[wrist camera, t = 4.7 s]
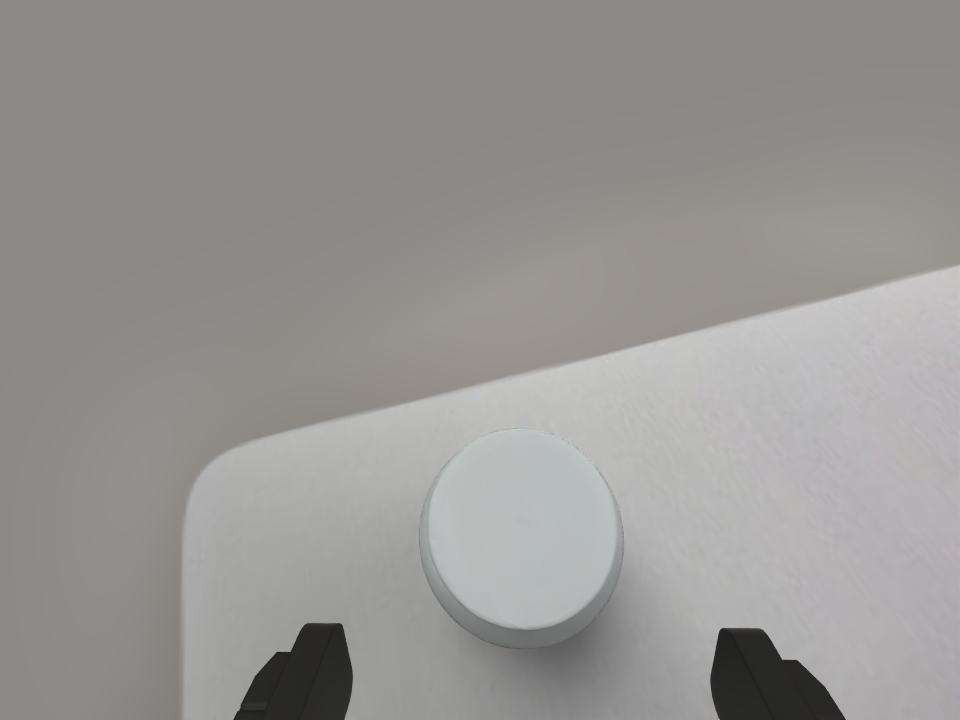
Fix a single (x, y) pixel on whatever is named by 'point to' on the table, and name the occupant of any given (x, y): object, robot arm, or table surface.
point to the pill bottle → (521, 539)
